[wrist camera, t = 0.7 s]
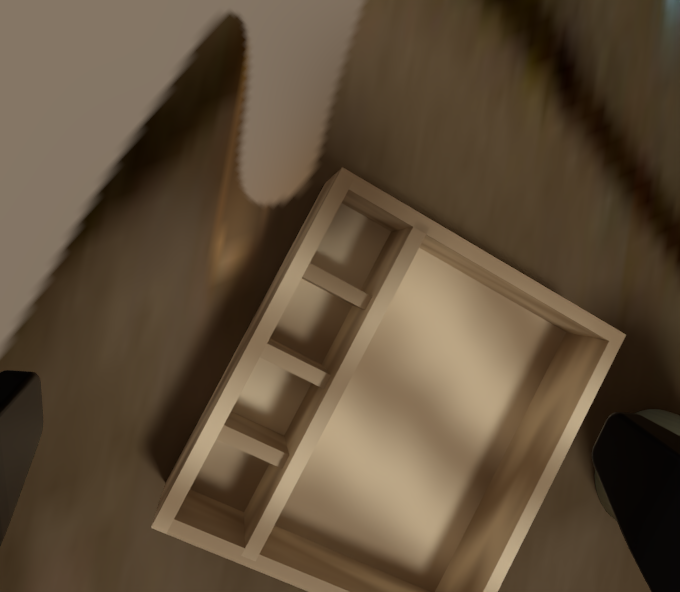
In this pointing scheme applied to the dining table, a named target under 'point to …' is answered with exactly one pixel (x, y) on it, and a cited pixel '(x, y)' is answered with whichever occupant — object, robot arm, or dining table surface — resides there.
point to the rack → (387, 409)
